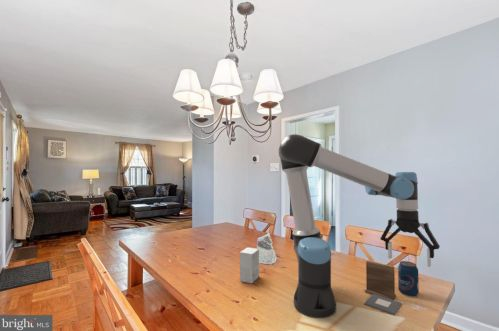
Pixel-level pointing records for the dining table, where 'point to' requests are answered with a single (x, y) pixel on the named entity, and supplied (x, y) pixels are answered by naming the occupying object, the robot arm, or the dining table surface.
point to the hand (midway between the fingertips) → (408, 261)
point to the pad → (383, 304)
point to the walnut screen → (380, 280)
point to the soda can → (408, 279)
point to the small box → (249, 265)
